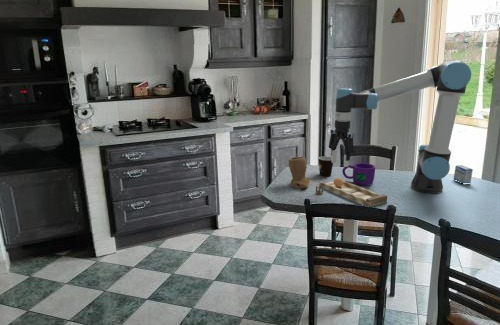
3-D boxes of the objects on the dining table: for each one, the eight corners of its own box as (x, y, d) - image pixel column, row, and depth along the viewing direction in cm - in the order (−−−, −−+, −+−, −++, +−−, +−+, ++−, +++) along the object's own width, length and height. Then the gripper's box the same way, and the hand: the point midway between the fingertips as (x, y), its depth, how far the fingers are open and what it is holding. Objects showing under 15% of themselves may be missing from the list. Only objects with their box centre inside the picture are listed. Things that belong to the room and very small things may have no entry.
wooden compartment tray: (386, 202, 185) (387, 195, 184) (368, 207, 179) (369, 200, 178) (336, 182, 213) (336, 176, 212) (319, 186, 207) (319, 179, 206)
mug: (376, 182, 213) (377, 164, 210) (370, 188, 204) (372, 169, 201) (345, 177, 222) (346, 160, 219) (338, 182, 212) (339, 165, 210)
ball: (345, 187, 202) (345, 178, 201) (338, 189, 199) (338, 179, 198) (338, 184, 206) (338, 175, 205) (331, 186, 204) (331, 177, 202)
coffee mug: (332, 177, 220) (334, 160, 218) (317, 176, 222) (318, 160, 219) (332, 171, 231) (333, 155, 228) (318, 170, 233) (318, 154, 230)
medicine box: (452, 180, 216) (455, 165, 213) (459, 179, 217) (462, 164, 214) (463, 185, 208) (466, 169, 206) (470, 184, 209) (473, 168, 207)
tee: (323, 193, 196) (324, 187, 195) (318, 195, 194) (319, 188, 193) (319, 191, 199) (319, 185, 198) (314, 193, 197) (315, 186, 196)
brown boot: (290, 179, 218) (290, 153, 214) (311, 181, 215) (312, 154, 211) (284, 188, 204) (285, 160, 200) (307, 190, 201) (308, 162, 197)
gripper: (322, 117, 200) (320, 160, 206) (352, 124, 183) (349, 170, 189) (333, 116, 203) (331, 158, 210) (364, 122, 186) (360, 168, 193)
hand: (339, 164), depth 199 cm, fingers open, 8 cm apart
